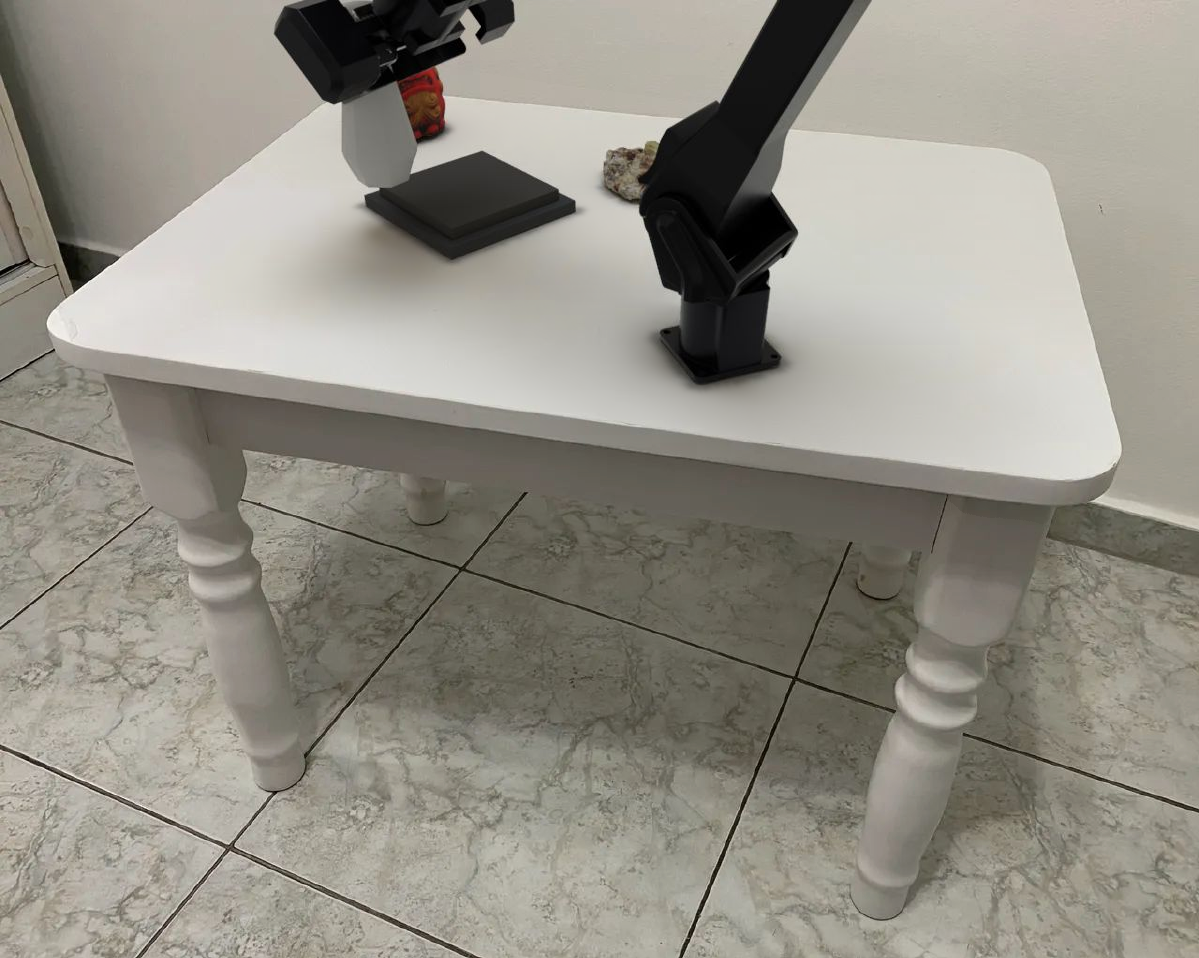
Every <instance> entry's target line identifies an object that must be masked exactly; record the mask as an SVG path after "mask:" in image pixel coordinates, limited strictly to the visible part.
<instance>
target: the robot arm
mask: <svg viewBox="0 0 1199 958" xmlns="http://www.w3.org/2000/svg"><path fill="white" fill-rule="evenodd" d="M371 1H372V3H369V4H366V5H363V6H360V7H357V8H354V9H353V11H352V15H351V14H350V12H349V11H348V9H347V8H346V7H344V6H343V5H342V3H343V2H341V1H340V0H300V1H297V2H293V3H290V4H287V5H283V8H282V9H281V11H280V13H279V16H278V17H277V19H276V21H275V24H274V28H273V35H274V37H276V39H277V40H278V42H279V43H280V45H281V46H282V47H283V49H284V50H285V52H286V53H287V54H288V55H289V57H290V58H291V59H292V61H293V62H294V64H295V65H296V66H297V67H298V69H299V71H300V72H301V73H302V75H303V76H304V77H305V79H306V80H307V81H308V82H309V84H310V85H311V86H312V88H313V89H314V91H315V92H316V94H317V95H318V96H319V97H320V98H321V100H322V101H323V102H326V103H329V104H331V105H334V106H335V105H337V104H339V103H341V104H342V103H343V104H347V103H349V102H351V101H354V100H356V99H358V98H361V97H363V96H365V95H367V94H370V93H372V92H374V91H376V90H379V89H381V88H383V87H386V86H388V85H390V84H392V83H394V82H397V83H398V82H400V81H402V80H405V79H407V78H409V77H412V76H414V75H416V74H419V73H421V72H423V71H426V70H428V69H430V68H433V67H437V66H440V65H442V64H444V63H446V62H449V61H451V60H453V59H456V58H458V57H461V56H463V55H465V54H466V52H467V45H466V44H465V42H464V40H463V39H462V38H461V36H462V34H464V32H465V31H466V27H465V26H464V24H463V23H462V21H461V19H462V17H463V16H464V15H465V13H466V12H467V11H469V12H470V14H471V15H472V17H474V19H475V21H476V22H477V23H478V25H479V26H480V27H479V29H478V30H477V31H476V33H474V36H475V38H476V39H477V41H478V43H479V44H480V46H483V45H485V44H488V43H490V42H493V41H495V40H498V39H500V38H502V37H504V36H505V34H506V33H507V32H508V31H509V30H510V28H511V27H512V25H513V24H514V23H515V22H516V17H515V16H516V15H515V3H514V0H371ZM872 1H873V0H776V1H775V3H774V5H773V7H772V8H771V10H770V12H769V14H768V16H767V17H766V19H765V21H764V23H763V25H762V27H761V28H760V31H759V32H758V33H757V35H756V37H755V39H754V41H753V42H752V44H751V46H750V48H749V50H748V51H747V53H746V55H745V57H744V59H743V61H742V62H741V64H740V66H739V68H738V70H737V71H736V73H735V75H734V76H733V78H732V80H731V81H730V84H729V85H728V87H727V89H726V91H725V93H724V94H723V96H722V98H721V100H720V102H719V101H718V100H713V101H712V102H710V103H709V104H707V105H705V106H704V107H702V108H700V109H698V110H697V111H695V112H693V113H691V114H689V115H688V116H687V117H685V118H683V119H681V120H680V121H678V122H675V123H674V124H673V125H671V126H669V127H668V128H666V129H665V131H664V133H663V135H662V137H661V139H660V140H659V142H658V143H659V146H658V149H657V152H656V156H655V158H654V161H653V163H652V165H651V166H650V168H649V169H648V171H647V172H646V173H644V174H643V175H642V176H640V177H639V178H638V182H639V183H640V184H645V185H647V186H646V187H645V189H644V190H643V192H642V195H641V198H640V199H639V203H638V215H639V216H640V217H641V218H642V221H643V225H644V229H645V231H646V232H647V235H648V239H649V241H650V245H651V249H652V252H653V256H654V261H655V264H656V267H657V272H658V274H659V279H660V282H661V286H662V287H663V288H664V289H666V290H669V291H672V292H676V293H677V294H678V296H680V308H679V325H675V326H669V327H665V328H662V329H660V331H659V339H660V340H661V341H662V343H663V344H664V345H665V346H666V347H667V349H668V350H669V352H671V354H672V356H673V357H674V358H675V359H676V360H677V361H678V362H679V363H680V365H681V366H682V367H683V368H684V370H685V371H686V373H687V374H688V375H689V376H690V377H691V379H692V380H693V381H694V382H696V383H701V384H703V383H707V382H712V381H716V380H720V379H725V378H730V377H733V376H734V377H735V376H738V375H743V374H747V373H751V372H755V371H759V370H763V369H767V368H772V367H777V366H779V365H781V364H782V363H781V362H782V355H781V354H780V353H779V352H778V350H776V349H775V347H774V346H773V345H772V344H770V342H769V341H768V340H767V339H766V338H765V336H766V327H767V319H768V311H769V302H770V294H771V286H770V278H771V271H770V268H771V267H772V266H774V265H775V264H776V263H777V262H779V260H781V259H784V258H785V257H786V256H788V254H789V252H790V251H791V249H792V247H793V245H794V244H795V242H796V241H797V238H798V236H799V230H798V228H797V227H796V225H795V224H794V222H793V220H792V219H791V218H790V216H789V215H788V213H787V211H786V209H785V208H784V207H783V206H782V204H781V202H780V201H779V199H778V198H777V197H776V195H775V194H774V192H773V189H774V186H775V184H776V182H777V180H778V177H779V175H780V172H781V170H782V164H783V158H784V150H785V145H786V144H785V143H786V139H787V136H788V133H789V132H790V129H791V128H792V126H793V125H794V123H795V121H796V120H797V119H798V117H799V116H800V114H801V113H802V110H803V109H804V107H806V104H807V103H808V101H809V100H810V98H811V96H812V95H813V93H814V92H815V90H816V89H817V87H818V86H819V84H820V83H821V81H822V79H823V78H824V76H825V75H826V73H827V72H828V70H829V68H830V67H831V66H832V64H833V62H834V61H835V59H836V58H837V56H838V54H839V53H840V51H841V50H842V48H843V47H844V46H845V43H846V42H847V40H849V37H850V36H851V34H852V33H853V31H854V30H855V28H856V26H857V25H858V24H859V21H860V20H861V19H862V17H863V15H864V14H865V12H866V11H867V9H868V8H869V6H870V5H871V3H872ZM353 17H354V18H355V19H354V18H353ZM355 20H356V21H355ZM390 64H391V67H392V70H393V72H392V70H391V69H390V68H389V65H390Z"/></svg>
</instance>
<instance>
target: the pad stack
mask: <svg viewBox="0 0 1199 958" xmlns="http://www.w3.org/2000/svg"><path fill="white" fill-rule="evenodd" d="M363 196H364V203H365V206H366V207H367V208H369V209H371V210H372V211H374V212H375V213H377V214H378V215H380V216H381V217H383V218H385V219H386V220H388V221H389V222H391V223H393V224H394V225H396V226H398V227H399V228H400V229H402V230H403V231H405V232H407V233H408V234H410V235H412V236H413V237H415V238H416V239H418V240H420V241H422V242H423V243H424V244H426V245H427V246H429V247H431V248H433V249H434V250H436V251H437V252H439V253H441V254H442V255H444V256H445V257H447V258H448V259H450V260H453V259H457V258H459V257H462V256H464V255H467V254H469V253H472V252H474V251H477V250H479V249H482V248H485V247H488V246H490V245H493V244H495V243H498V242H500V241H503V240H506V239H509V238H510V237H514V236H516V235H518V234H521V233H524V232H526V231H528V230H531V229H534V228H537V227H539V226H542V225H544V224H547V223H549V222H552V221H555V220H557V219H559V218H562V217H565V216H567V215H571V214H572V213H575V212H576V211H577V205H576V203H577V201H576V200H575V199H573V198H571V197H569V196H567V195H566V194H563V193H561V192H560V189H559V188H558V187H555V186H553V185H552V184H550V183H547V182H546V181H544V180H542V179H539V178H537V177H535V176H533V175H532V174H530V173H528V172H526V171H524V170H522V169H520V168H517V167H516V166H514V165H512V164H509V163H508V162H507V161H504V160H501V159H500V158H499V157H496V156H494V155H492V154H490V153H488V152H486V151H484V150H480V151H477V152H474V153H470V154H467V155H465V156H461V157H458V158H455V159H452V160H450V161H446V162H443V163H440V164H437V165H434V166H431V167H428V168H424V169H421V170H419V171H415V172H411V173H410V177H409V180H408V181H406V182H403V183H401V184H399V185H396V186H394V187H392V188H378V189H377V190H376V191H375V190H374V191H372V192H369V193H366V194H364V195H363Z"/></svg>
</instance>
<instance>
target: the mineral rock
mask: <svg viewBox="0 0 1199 958" xmlns="http://www.w3.org/2000/svg"><path fill="white" fill-rule="evenodd" d="M659 143H660V142H657V141H656V140H648V141H646V142H645V144H644V148H643V147H635V148H626V147H624V146H622V147H618V148H616V149H614V150H613V149H611V148H609V149H608V150H606V152H605V160H604V161H603V165H602V166H603V167H602V168H603V178H604V180H603V181H604V182H603V183H604V184H605V186H606V187H607V188H608V189H611V191H613V192H615V193H617V194H619V195H621V196H622V197H623V198H624V199H626V200H628V201H633V200H635V199H636V200H640V198H641V195H642V192H643V190H644V189H645V187H646V186H647V185H645V184H640V183H639V182H638V178H639V177H640V176H642V175H643V174H644V173H646V172H647V171H648V169H649V168H650V166H651V165H652V163H653V161H654V158H655V156H656V152H657V149H658V146H659Z"/></svg>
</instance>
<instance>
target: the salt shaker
mask: <svg viewBox="0 0 1199 958" xmlns="http://www.w3.org/2000/svg"><path fill="white" fill-rule="evenodd" d="M372 1H373V0H350V1H345V2H341V3H342V5H343V6H344V7H346V8H347V9H348V11H349V12H350V14H351V15H352V11H353V9H354V8H357V7H360V6H363V5H366V4H369V3H372ZM353 18H354V17H353ZM354 19H355V18H354ZM355 21H356V20H355ZM389 68H390V69H391V70H392V67H391V64H390V65H389ZM392 72H393V70H392ZM417 152H418V143H417V139H415V137H414V134H413V130H412V127H411V124H410V121H409V118H408V115H407V112H406V109H405V106H404V103H403V100H402V97H401V94H400V91H399V88H398V85H397V82H394V83H392V84H390V85H388V86H386V87H383V88H381V89H379V90H376V91H374V92H372V93H370V94H367V95H365V96H363V97H361V98H358V99H356V100H354V101H351V102H349V103H347V104H343V103H342V102H341V154H342V156H343V159H344V160H345V162H346V164H347V165H348V167H349V168H350V170H351V171H352V173H353V175H354V176H355V178H356V180H357V181H358V182H360V183H361V184H363V185H364V186H365V187H367V188H369V189H371V188H373V189H377V188H378V189H379V188H392V187H394V186H396V185H399V184H401V183H403V182H406V181H408V180H409V177H410V174H412V169H413V166H414V165H413V164H414V161H415V158H416V156H417Z"/></svg>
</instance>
